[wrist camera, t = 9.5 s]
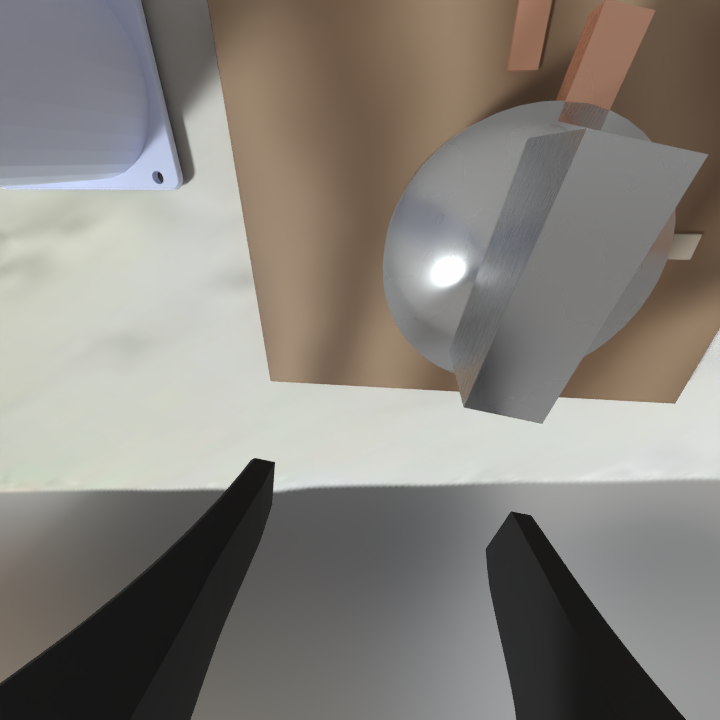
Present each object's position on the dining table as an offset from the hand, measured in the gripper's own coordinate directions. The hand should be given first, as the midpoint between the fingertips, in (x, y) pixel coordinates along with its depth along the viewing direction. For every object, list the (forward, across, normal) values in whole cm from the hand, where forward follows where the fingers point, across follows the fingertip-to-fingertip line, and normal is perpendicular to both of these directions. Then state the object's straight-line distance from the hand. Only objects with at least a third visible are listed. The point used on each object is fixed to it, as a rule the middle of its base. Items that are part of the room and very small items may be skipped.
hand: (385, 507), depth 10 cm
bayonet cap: (+7, -3, -8) cm, 11 cm away
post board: (+10, -3, -7) cm, 13 cm away
